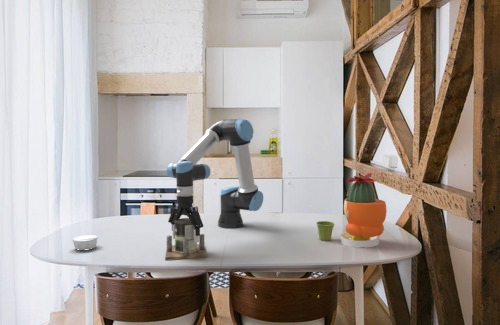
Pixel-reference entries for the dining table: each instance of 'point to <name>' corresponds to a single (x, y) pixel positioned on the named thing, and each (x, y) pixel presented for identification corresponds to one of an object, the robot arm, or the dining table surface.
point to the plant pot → (325, 230)
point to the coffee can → (184, 235)
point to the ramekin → (85, 242)
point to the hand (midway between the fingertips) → (185, 240)
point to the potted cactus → (363, 214)
